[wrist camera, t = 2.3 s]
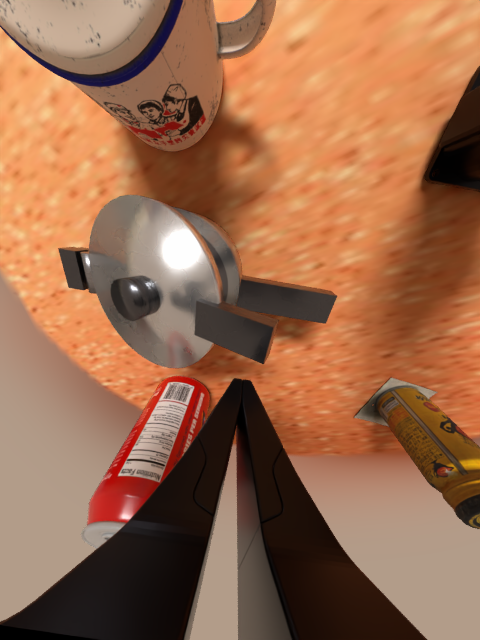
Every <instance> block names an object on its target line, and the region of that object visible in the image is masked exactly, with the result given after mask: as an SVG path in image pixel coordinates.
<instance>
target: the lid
mask: <svg viewBox="0 0 480 640" xmlns="http://www.w3.org/2000/svg"><path fill="white" fill-rule="evenodd" d="M81 257H82V262H83V267H84V271H85V276H86V280H87V285H88V290H89V292H90V293H97V296H98V298H99V301H100V303H101V305H102V307H103V310H104V312H105V313H106V315H107V317H108V319H109V320H110V322H111V324H112V325H113V327H114V328H115V329H116V331H117V332H118V334H119V335H120V336H121V337H122V338H123V340H124V341H125V342H126V343H127V344H128V345H129V346H130V347H131V348H132V349H134V350H135V351H136V352H137V353H138V354H140V355H141V356H142V357H144V358H146V359H147V360H149V361H151V362H153V363H155V364H157V365H160V366H163V367H168V368H183V367H187V366H190V365H192V364H194V363H196V362H198V361H199V360H200V359H201V358H202V357H203V356H204V355H206V354H207V353H208V352H209V351H210V350H211V348H212V347H213V346H214V345H215V344H217V345H219V346H222V347H224V348H226V349H229V350H231V351H233V352H236V353H238V354H241V355H243V356H245V357H248V358H250V359H252V360H255V361H257V362H259V363H262V364H264V363H265V361H266V359H267V357H268V356H269V353H270V350H271V346H272V343H273V339H274V336H275V332H276V329H277V325H278V322H279V320H277V319H274V318H271V317H268V316H265V315H262V314H259V313H256V312H253V311H250V310H247V309H244V308H241V307H238V306H235V305H232V304H229V303H226V302H224V293H223V287H222V281H221V278H220V274H219V271H218V268H217V265H216V263H215V260H214V258H213V255H212V253H211V251H210V249H209V248H208V246H207V244H206V242H205V241H204V239H203V238H202V236H201V235H200V233H199V232H198V231H197V229H196V228H195V227H194V226H193V225H192V224H191V222H190V221H189V220H188V219H187V218H185V217H184V216H183V215H182V214H181V213H180V212H178V211H177V210H175V209H174V208H172V207H171V206H169V205H167V204H165V203H163V202H161V201H158V200H154V199H151V198H147V197H143V196H139V195H125V196H120V197H118V198H116V199H113V200H111V201H110V202H109V203H108V204H106V205H105V206H104V207H103V209H102V210H101V211H100V212H99V214H98V216H97V218H96V219H95V222H94V225H93V227H92V231H91V236H90V244H89V252H81Z"/></svg>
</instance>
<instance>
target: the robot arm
mask: <svg viewBox="0 0 480 640" xmlns="http://www.w3.org/2000/svg"><path fill="white" fill-rule="evenodd" d="M433 171H435V175H434V176H432V173H433ZM425 180H426V181H427V182H431V183H437V184H442V185H447V186H452V187H457V188H463V189H468V190H473V191H478V192H480V66H479V67H478V69H477V70H476V72H475V74H474V76H473V78H472V80H471V82H470V84H469V86H468V88H467V90H466V92H465V94H464V96H463V97H462V98H461V100H460V102H459V104H458V106H457V108H456V110H455V112H454V114H453V116H452V118H451V121H450V123H449V125H448V127H447V129H446V131H445V133H444V135H443V137H442V139H441V141H440V144H439V147H438V149H437V151H436V153H435V155H434V157H433V159H432V161H431V163H430V165H429V167H428V169H427V171H426V173H425ZM236 426H237V427H236ZM235 430H236V444H237V538H238V539H237V542H238V543H237V549H238V640H427V639H426V638H425V637H424V636H423V635H422V634H421V633H420V632H419V631H418V630H417V629H416V628H415V627H414V625H413V624H411V622H410V621H409V620H408V619H407V618H406V617H405V616H404V615H403V614H402V613H401V612H400V611H399V610H398V609H397V608H396V607H395V606H394V605H393V604H392V603H391V602H390V601H389V599H388V598H387V597H386V596H385V595H384V594H383V593H382V592H381V591H380V590H379V589H378V588H377V587H376V586H375V585H374V584H373V583H372V582H371V581H370V580H369V578H368V577H367V576H366V575H365V574H364V573H363V572H362V571H361V570H360V569H359V568H358V567H357V566H356V565H355V564H354V562H353V561H352V560H351V559H350V557H349V556H348V555H347V554H346V552H345V551H344V550H343V548H342V547H341V545H340V544H339V542H338V541H337V539H336V538H335V536H334V535H333V533H332V531H331V530H330V528H329V526H328V525H327V523H326V522H325V520H324V518H323V516H322V515H321V513H320V511H319V510H318V508H317V507H316V505H315V503H314V502H313V500H312V498H311V497H310V495H309V493H308V492H307V490H306V488H305V487H304V485H303V483H302V482H301V480H300V478H299V476H298V475H297V473H296V471H295V469H294V467H293V465H292V463H291V461H290V459H289V457H288V455H287V453H286V451H285V449H284V448H283V445H282V443H281V441H280V439H279V437H278V435H277V433H276V431H275V429H274V427H273V425H272V423H271V421H270V419H269V417H268V414H267V412H266V410H265V408H264V406H263V404H262V402H261V400H260V398H259V396H258V394H257V392H256V390H255V388H254V386H253V384H252V382H251V381H250V380H242V379H237V378H234V379H233V381H232V382H231V384H230V385H229V387H228V388H227V390H226V391H225V393H224V394H223V396H222V397H221V399H220V400H219V402H218V403H217V405H216V406H215V408H214V410H213V411H212V413H211V414H210V416H209V417H208V419H207V420H206V422H205V423H204V425H203V426H202V428H201V429H200V431H199V432H198V434H197V436H196V437H195V438H194V440H193V441H192V443H191V444H190V446H189V447H188V449H187V450H186V452H185V453H184V454H183V456H182V457H181V458H180V460H179V461H178V462H177V464H176V465H175V466H174V467H173V469H172V470H171V471H170V472H169V474H168V475H167V476H166V477H165V478H164V480H163V481H162V482H161V483H160V484H159V486H158V487H157V488H156V489H155V491H154V492H153V493H152V494H151V495H150V497H149V498H148V499H147V500H146V501H145V503H144V504H143V505H142V506H141V507H140V509H139V510H138V511H137V512H136V513H135V514H134V515H133V516H132V518H131V519H130V520H129V521H128V522H127V523H126V524H125V525H124V526H123V527H122V528H121V529H120V530H119V531H118V532H116V533H115V534H114V535H113V536H112V537H111V538H109V539H108V540H107V541H106V542H105V543H103V544H102V545H101V546H100V547H99V548H97V549H96V550H95V551H94V552H93V553H92V554H90V555H89V556H88V557H87V558H85V559H84V560H83V561H82V562H81V563H79V564H78V565H77V566H76V567H75V568H73V569H72V570H71V571H70V572H69V573H67V574H66V575H65V576H64V577H63V578H61V579H60V580H59V581H58V582H57V583H55V584H54V585H53V586H52V587H50V588H49V589H48V590H47V591H46V592H44V593H43V594H42V595H41V596H40V597H38V598H37V599H36V600H35V601H33V602H32V603H31V604H29V605H28V606H27V607H25V608H24V609H23V610H21V611H20V612H18V613H16V614H15V615H13V616H11V617H9V618H8V619H6V620H3V621H1V622H0V640H189V639H190V634H191V630H192V624H193V621H194V616H195V612H196V607H197V603H198V598H199V593H200V589H201V585H202V580H203V575H204V571H205V566H206V562H207V557H208V553H209V548H210V544H211V539H212V535H213V530H214V526H215V521H216V516H217V512H218V508H219V503H220V499H221V493H222V489H223V485H224V480H225V476H226V471H227V467H228V462H229V458H230V453H231V449H232V444H233V440H234V435H235Z"/></svg>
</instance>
